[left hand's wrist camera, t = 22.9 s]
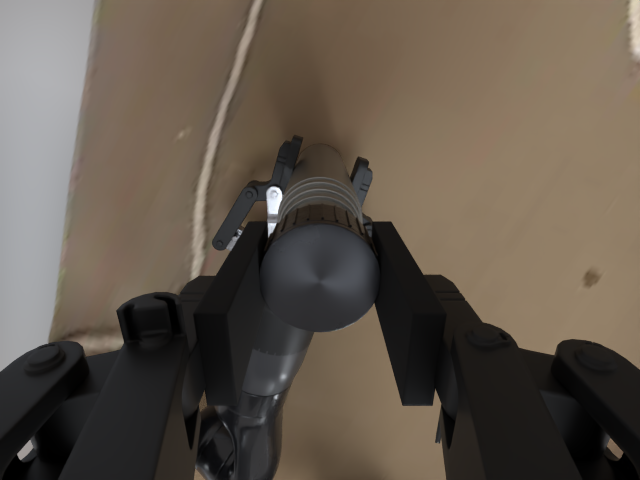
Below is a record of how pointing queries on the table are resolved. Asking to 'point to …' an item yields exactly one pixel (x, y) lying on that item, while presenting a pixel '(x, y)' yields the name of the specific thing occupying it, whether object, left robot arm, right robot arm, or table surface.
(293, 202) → the bottle
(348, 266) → the cap
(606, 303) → the table surface
